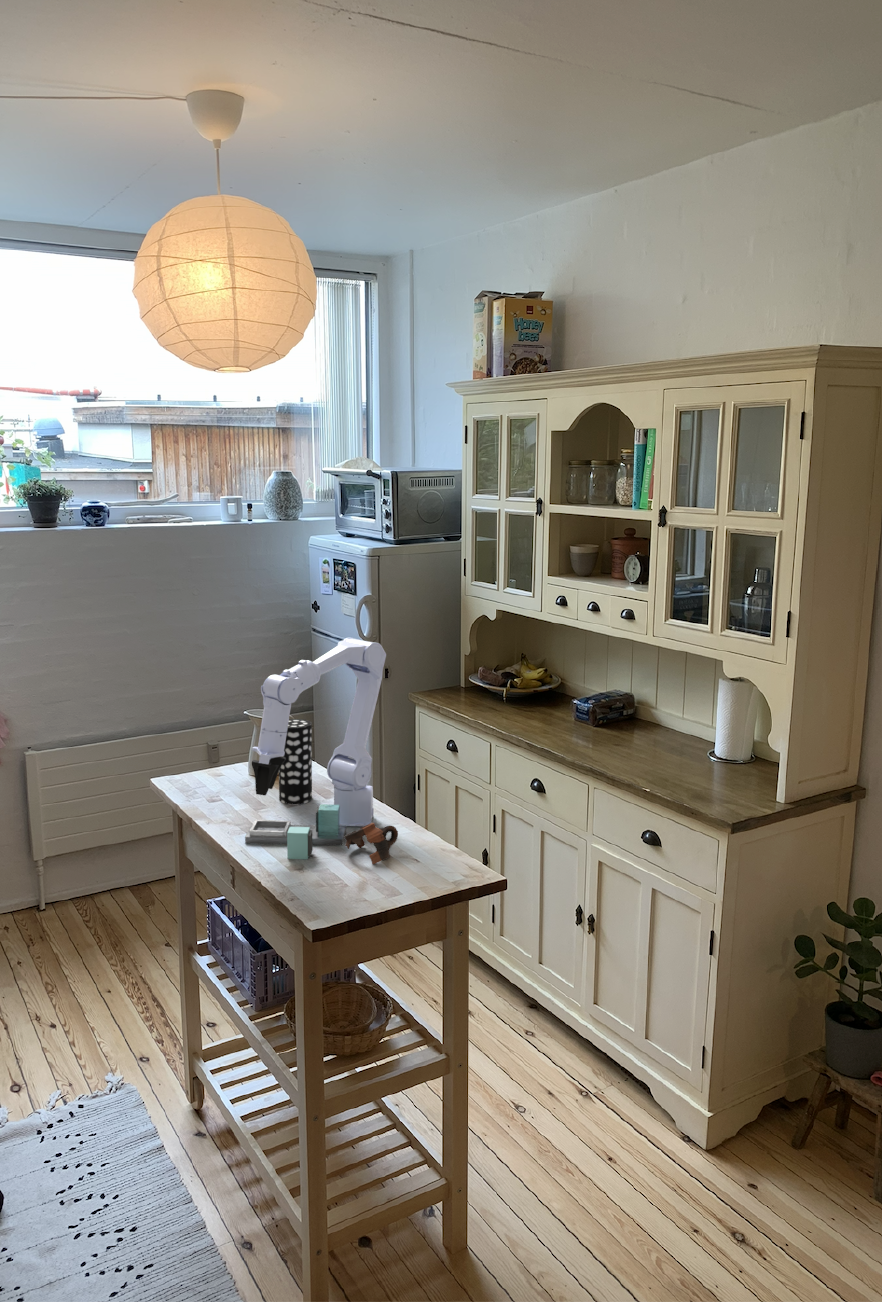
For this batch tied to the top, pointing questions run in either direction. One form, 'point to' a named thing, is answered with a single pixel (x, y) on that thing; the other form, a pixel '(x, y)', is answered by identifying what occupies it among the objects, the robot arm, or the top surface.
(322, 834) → the grey long flat piece
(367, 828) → the brown looped piece
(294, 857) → the pale aqua cube
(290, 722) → the white-spotted black cylinder
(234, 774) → the top surface
